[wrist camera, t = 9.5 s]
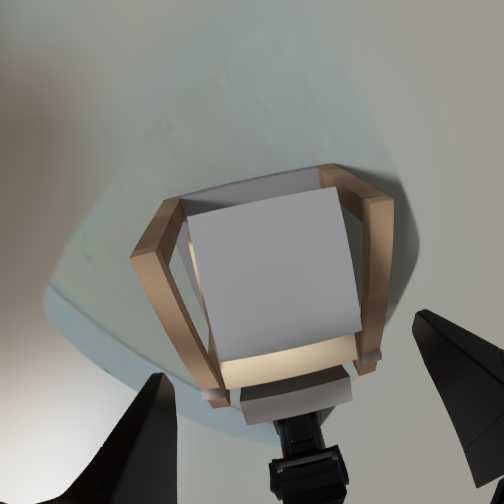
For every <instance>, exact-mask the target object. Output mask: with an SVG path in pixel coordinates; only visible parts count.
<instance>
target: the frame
mask: <svg viewBox="0 0 504 504" xmlns="http://www.w3.org/2000/svg"><path fill="white" fill-rule="evenodd" d="M316 167H317V168H318V173H319V180H320V186H321V187H322V188H323V189H324V188H329V187H335V186H336V190H337V194H338V198H339V202H340V203H341V204H342V205H343V206H344V207H346V208H347V209H348V210H349V211H350V212H351V213H352V214H353V215H355V216H356V217H357V218H358V219H359V220H360V221H361V222H362V223H363V278H362V301H361V325H362V331H359V332H355V333H354V334H355V342H356V350H357V358H358V359H356V360H353V363H354V366H355V368H356V370H357V372H358V375H359V376H361V375H364V374H367V373H370V372H373V371H375V369H376V365H377V361H379V360H381V359H382V354H381V350H380V344H381V339H382V334H383V328H384V322H385V315H386V308H387V301H388V293H389V284H390V274H391V263H392V248H393V227H394V199H393V198H391V197H390V196H388V195H386V194H385V193H383V192H382V191H380V190H378V189H377V188H375V187H373V186H372V185H370V184H368V183H366V182H365V181H363V180H361V179H360V178H358V177H356V176H354V175H353V174H351V173H349V172H347V171H345V170H344V169H342V168H340V167H338V166H336V165H334V164H332V163H331V164H325V165H319V166H316ZM180 197H181V196H178V197H174V198H171V199H167V200H164V201H163V203H162V204H161V206H160V208H159V209H158V211H157V212H156V214H155V215H154V217H153V219H152V220H151V222H150V224H149V225H148V227H147V229H146V230H145V232H144V234H143V235H142V237H141V239H140V240H139V242H138V244H137V245H136V247H135V249H134V251H133V252H132V254H131V256H130V261H131V263H132V265H133V267H134V269H135V272H136V274H137V276H138V278H139V280H140V282H141V284H142V286H143V289H144V291H145V293H146V295H147V297H148V299H149V301H150V303H151V305H152V307H153V308H154V310H155V312H156V314H157V316H158V318H159V320H160V322H161V324H162V326H163V327H164V329H165V331H166V333H167V335H168V336H169V338H170V340H171V342H172V343H173V345H174V347H175V349H176V350H177V352H178V354H179V356H180V357H181V359H182V361H183V362H184V364H185V366H186V367H187V369H188V370H189V372H190V374H191V375H192V377H193V378H194V380H195V382H196V383H197V385H198V386H199V388H200V389H201V395H202V398H203V400H204V401H207V400H208V401H209V403H210V404H211V406H212V407H213V408H221V407H228V406H230V389H228V390H226V386H225V383H224V380H223V377H222V373H221V370H220V366H219V363H218V359H217V356H216V352H215V349H214V345H213V342H212V338H211V334H210V331H209V347H208V354H207V352H206V350H205V347H204V345H203V343H202V341H201V339H200V337H199V335H198V333H197V331H196V329H195V327H194V324H193V322H192V320H191V318H190V316H189V313H188V311H187V309H186V307H185V304H184V302H183V300H182V298H181V295H180V293H179V291H178V288H177V286H176V284H175V281H174V279H173V276H172V274H171V272H170V269H169V267H168V266H169V263H170V260H171V257H172V254H173V250H174V247H175V244H176V241H177V238H178V235H179V232H180V230H181V227H182V224H183V221H184V218H185V213H184V210H183V207H182V203H181V200H180Z"/></svg>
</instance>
